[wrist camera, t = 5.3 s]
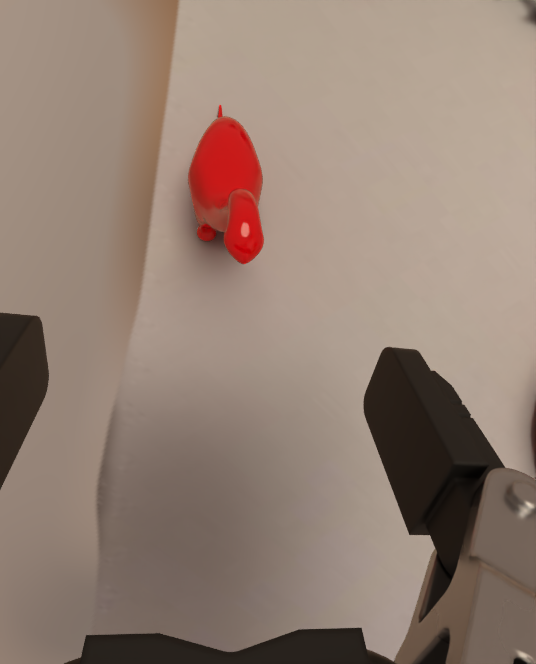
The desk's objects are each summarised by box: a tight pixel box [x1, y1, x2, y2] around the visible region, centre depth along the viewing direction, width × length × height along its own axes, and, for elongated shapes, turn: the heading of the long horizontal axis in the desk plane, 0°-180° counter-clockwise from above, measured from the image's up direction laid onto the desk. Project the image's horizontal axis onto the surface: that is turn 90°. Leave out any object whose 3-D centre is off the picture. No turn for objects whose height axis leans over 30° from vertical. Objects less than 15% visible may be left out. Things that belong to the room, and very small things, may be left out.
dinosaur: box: [188, 105, 264, 264], centre depth 21 cm, size 4×15×12 cm, turn 1°
